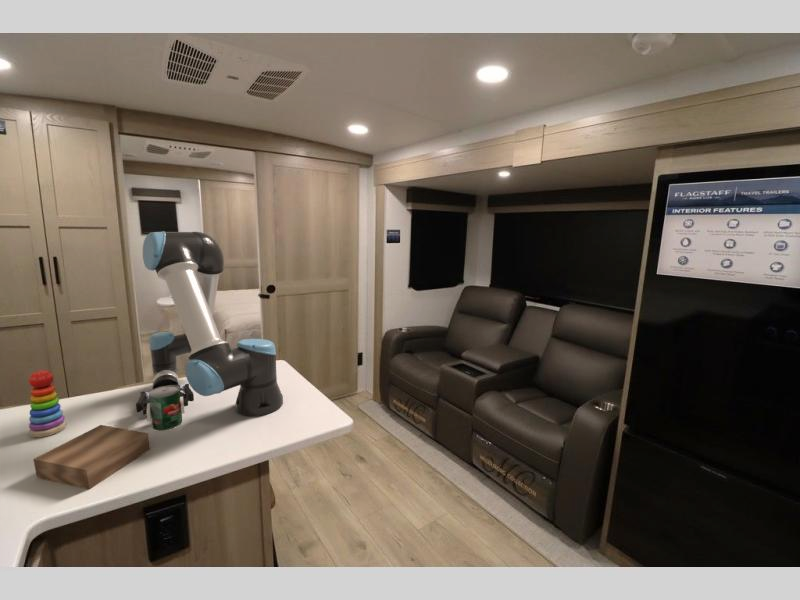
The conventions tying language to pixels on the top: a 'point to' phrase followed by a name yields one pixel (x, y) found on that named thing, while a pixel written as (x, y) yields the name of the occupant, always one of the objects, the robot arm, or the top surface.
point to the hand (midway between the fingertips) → (166, 412)
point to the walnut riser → (92, 456)
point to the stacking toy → (44, 406)
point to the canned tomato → (165, 408)
